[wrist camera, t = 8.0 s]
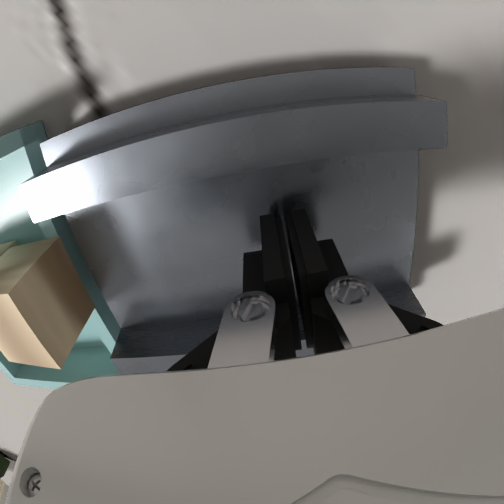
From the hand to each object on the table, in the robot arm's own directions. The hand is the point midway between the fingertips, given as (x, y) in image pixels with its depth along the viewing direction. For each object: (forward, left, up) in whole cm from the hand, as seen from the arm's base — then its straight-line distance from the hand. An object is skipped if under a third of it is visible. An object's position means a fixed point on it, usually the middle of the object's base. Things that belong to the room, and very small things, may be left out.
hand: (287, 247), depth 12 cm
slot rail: (+2, 0, -2) cm, 3 cm away
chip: (+11, 0, -1) cm, 11 cm away
